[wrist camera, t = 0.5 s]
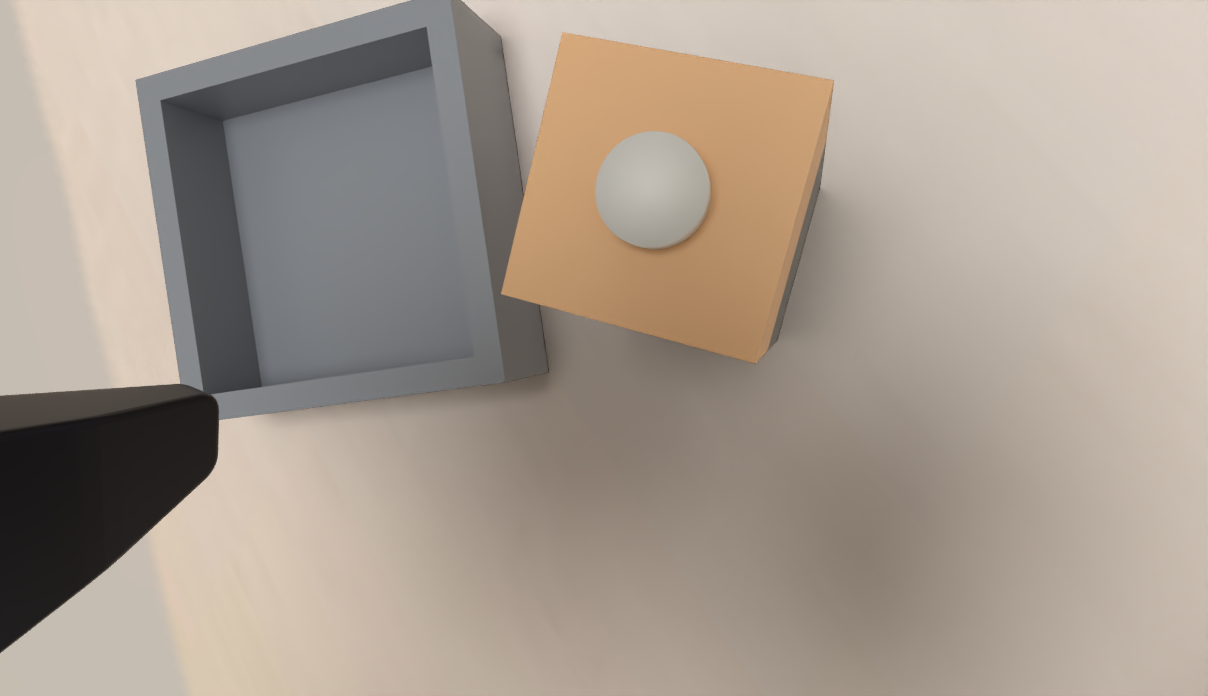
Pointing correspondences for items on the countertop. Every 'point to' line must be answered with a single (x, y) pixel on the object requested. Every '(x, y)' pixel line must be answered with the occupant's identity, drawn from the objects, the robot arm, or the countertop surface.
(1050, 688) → the countertop surface
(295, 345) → the bin
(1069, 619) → the countertop surface
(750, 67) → the copper cell
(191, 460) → the robot arm
